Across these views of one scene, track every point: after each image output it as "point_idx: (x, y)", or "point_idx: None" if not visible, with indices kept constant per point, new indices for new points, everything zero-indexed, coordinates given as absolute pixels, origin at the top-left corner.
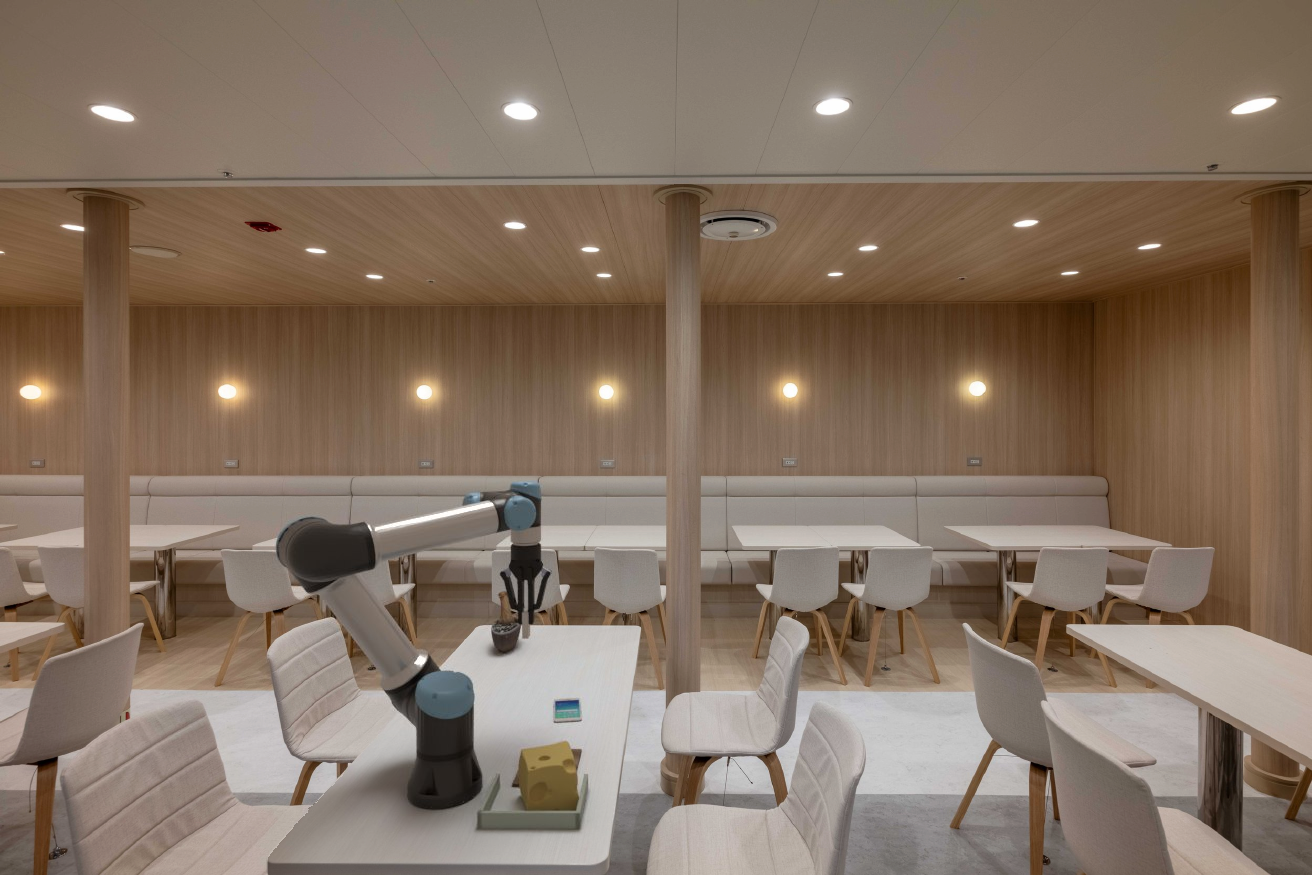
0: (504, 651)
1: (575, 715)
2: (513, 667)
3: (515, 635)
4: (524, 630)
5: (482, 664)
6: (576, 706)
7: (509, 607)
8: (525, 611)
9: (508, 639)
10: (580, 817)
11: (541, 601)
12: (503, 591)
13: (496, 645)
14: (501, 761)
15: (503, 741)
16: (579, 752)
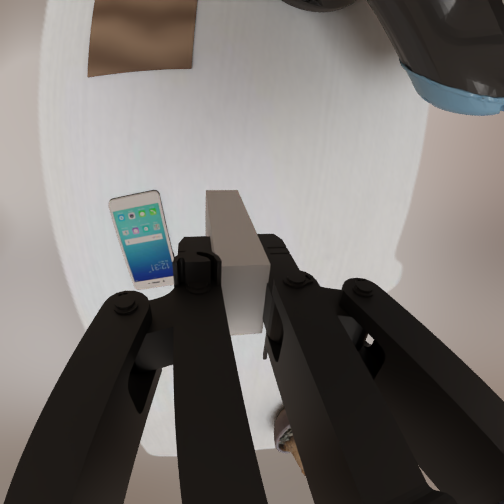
0: None
1: (123, 219)
2: (270, 376)
3: (278, 426)
4: (230, 206)
5: None
6: (131, 256)
7: (295, 458)
8: (245, 292)
9: (286, 418)
10: None
11: (81, 351)
12: None
13: None
14: (234, 33)
15: (244, 109)
16: (90, 63)
